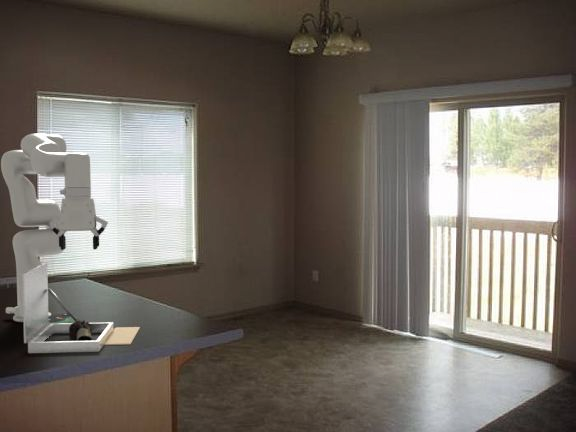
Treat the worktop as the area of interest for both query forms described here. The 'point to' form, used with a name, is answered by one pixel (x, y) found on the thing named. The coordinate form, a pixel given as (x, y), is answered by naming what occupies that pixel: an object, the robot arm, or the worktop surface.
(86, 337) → the dark piece
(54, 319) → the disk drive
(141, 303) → the worktop surface
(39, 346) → the case
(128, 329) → the pad
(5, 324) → the worktop surface
